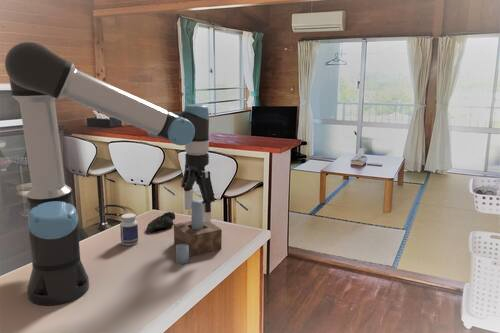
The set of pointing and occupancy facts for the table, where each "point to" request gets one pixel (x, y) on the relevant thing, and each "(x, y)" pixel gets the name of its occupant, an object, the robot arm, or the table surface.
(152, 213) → the table surface
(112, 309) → the table surface
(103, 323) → the table surface
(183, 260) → the grey rounded cylinder
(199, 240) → the sleeve block
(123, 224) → the pill bottle
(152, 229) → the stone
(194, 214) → the long dowel
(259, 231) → the table surface
